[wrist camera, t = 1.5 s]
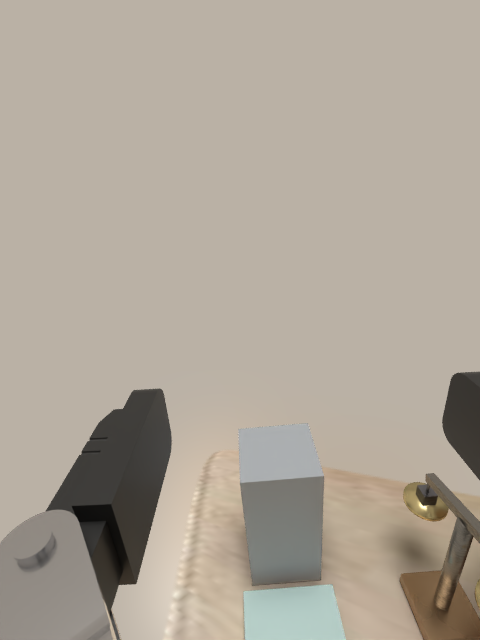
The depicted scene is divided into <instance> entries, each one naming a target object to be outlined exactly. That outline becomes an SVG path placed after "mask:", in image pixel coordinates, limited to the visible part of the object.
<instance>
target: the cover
mask: <svg viewBox="0 0 480 640" xmlns="http://www.w3.org/2000/svg"><path fill="white" fill-rule="evenodd" d="M239 463H240V486H241V495H242V503H243V511H244V519H245V528H246V536H247V544H248V552H249V561H250V569H251V577H252V585H264V584H277V583H289V582H302V581H315V580H321V557H322V525H323V493H324V474H323V471H322V468H321V465H320V462H319V458H318V455H317V452H316V448H315V445H314V442H313V439H312V436H311V432H310V429H309V426H308V423H305V424H292V425H281V426H269V427H257V428H246V429H239Z"/></svg>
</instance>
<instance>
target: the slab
mask: <svg viewBox="0 0 480 640" xmlns="http://www.w3.org/2000/svg"><path fill="white" fill-rule="evenodd" d="M244 623H245V640H346V638H345V634H344V630H343V626H342V622H341V618H340V613H339V609H338V605H337V601H336V597H335V593H334V589H333V585H332V584H330V585H317V586H304V587H292V588H279V589H266V590H254V591H244Z"/></svg>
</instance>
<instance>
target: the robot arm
mask: <svg viewBox="0 0 480 640" xmlns="http://www.w3.org/2000/svg"><path fill="white" fill-rule="evenodd" d="M442 423H443V430H444V433H445V436H446V438H447V440H448V441H449V443H450V444H451V445H452V447H453V448H454V449H455V450H456V452H457V453H458V454H459V455H460V457H461V458H462V459H463V460H464V461H465V463H466V464H467V465H468V466H469V468H470V469H471V470H472V471H473V473H474V474H475V475H476V476H477V477H478V479H479V480H480V372H465V373H456V374H454V375H453V377H452V379H451V381H450V386H449V391H448V396H447V401H446V405H445V410H444V415H443V422H442ZM170 453H171V430H170V424H169V419H168V414H167V409H166V403H165V398H164V394H163V391H162V390H161V389H145V390H134V391H133V392H132V393H131V395H130V397H129V398H128V400H127V402H126V404H125V406H124V408H123V409H116V410H113V411H112V412H111V413H110V414H109V415H107V416H106V417H105V418H104V419H103V420H102V421H100V422H99V424H98V425H97V427H96V429H95V430H94V432H93V433H92V435H91V437H90V441H88V442H87V443H86V445H85V447H84V448H83V450H82V454H81V455H79V457H78V458H77V460H76V462H75V463H74V465H73V467H72V468H71V470H70V472H69V473H68V475H67V477H66V478H65V480H64V482H63V483H62V485H61V487H60V489H59V490H58V492H57V494H56V495H55V497H54V498H53V500H52V502H51V504H50V505H49V507H48V508H47V510H46V512H43V513H40V514H38V515H35V516H33V517H31V518H30V519H28V520H26V521H24V522H23V523H22V524H20V525H19V526H17V527H16V528H15V529H14V530H12V531H11V532H10V533H9V534H8V535H7V536H6V537H5V538H4V539H3V540H2V541H1V543H0V640H122V639H121V637H120V633H119V630H118V627H117V624H116V621H115V618H114V614H113V612H112V609H111V608H112V605H113V602H114V598H115V595H116V592H117V589H118V585H127V584H136V583H137V579H138V575H139V572H140V568H141V564H142V560H143V556H144V552H145V549H146V545H147V541H148V537H149V534H150V530H151V526H152V522H153V518H154V515H155V511H156V507H157V503H158V499H159V496H160V492H161V488H162V484H163V480H164V477H165V473H166V469H167V465H168V461H169V458H170Z"/></svg>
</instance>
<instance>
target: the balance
mask: <svg viewBox="0 0 480 640" xmlns="http://www.w3.org/2000/svg"><path fill="white" fill-rule="evenodd" d="M426 482H427V484H425V483H420V482H414V483H410V484H408V485H407V486H406V487H405V489H404V493H403V499H404V502H405V504H406V506H407V507H408V508H409V510H410V511H411V512H413V513H414V514H415V515H417V516H418V517H420V518H422V519H425V520H428V521H440V520H442V519H444V518H445V517H446V516H447V513H448V510H449V509H450V510H451V511H452V512H453V513H454V514H455V516H456V517H457V520H456V524H455V527H454V531H453V534H452V537H451V541H450V544H449V548H448V551H447V554H446V558H445V561H444V565H443V568H442V570H441V571H429V572H416V573H404V574H401V577H400V583H401V585H402V588H403V590H404V593H405V595H406V597H407V600H408V602H409V605H410V607H411V609H412V612H413V614H414V617H415V619H416V622H417V624H418V626H419V629H420V631H421V634H422V636H423V638H424V640H480V619H479V617H478V615H477V613H476V612H475V610H474V608H473V606H472V604H471V603H470V601H469V599H468V597H467V595H466V594H465V592H464V590H463V588H462V586H461V585H460V583H459V578H460V575H461V572H462V569H463V566H464V563H465V560H466V557H467V554H468V551H469V548H470V545H471V542H472V539H473V537H475V539H476V540H477V541H478V542H479V543H480V522H479V520H478V519H477V518H476V517H475V516H474V515H473V514H472V513H471V512H470V511H469V510H468V509H467V508H466V507H465V506H464V505H463V504H462V502H461V501H460V500H459V499H458V498H457V497H456V496H455V495H454V494H453V493H452V492H451V491H450V490H449V489H448V488H447V487H446V486H445V485H444V483H443V482H442V481H441V480H440V479H439V478H438V477H437V476H436V475H435V474H434V473H432V474H426ZM475 599H476V602H477V605H478V607H479V609H480V579H479V581H478V582H477V585H476V588H475Z"/></svg>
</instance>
